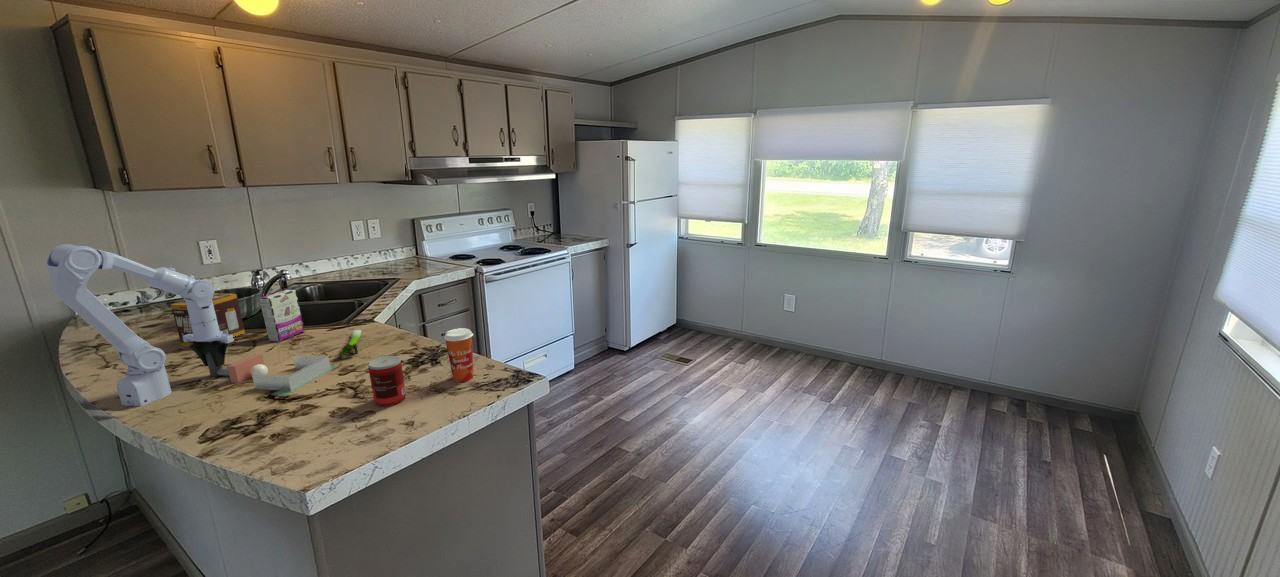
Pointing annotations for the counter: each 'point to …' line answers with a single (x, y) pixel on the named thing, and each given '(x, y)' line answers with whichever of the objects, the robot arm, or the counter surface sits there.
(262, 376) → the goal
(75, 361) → the counter surface
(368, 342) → the counter surface
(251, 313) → the bundt pan
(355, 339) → the leek
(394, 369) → the canned food
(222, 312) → the supplement box
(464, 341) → the paper cup
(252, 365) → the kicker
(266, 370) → the ball
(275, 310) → the candy bar box
